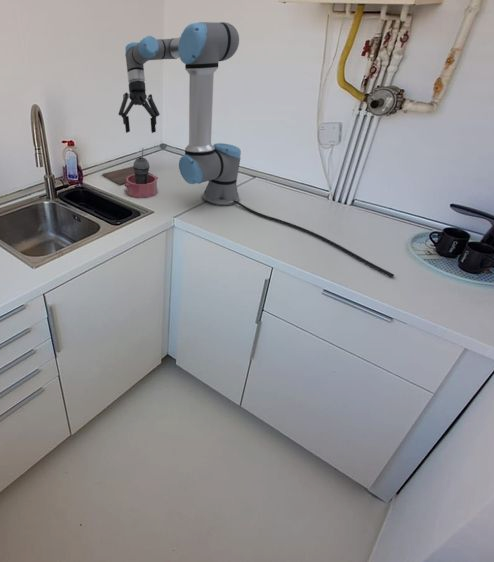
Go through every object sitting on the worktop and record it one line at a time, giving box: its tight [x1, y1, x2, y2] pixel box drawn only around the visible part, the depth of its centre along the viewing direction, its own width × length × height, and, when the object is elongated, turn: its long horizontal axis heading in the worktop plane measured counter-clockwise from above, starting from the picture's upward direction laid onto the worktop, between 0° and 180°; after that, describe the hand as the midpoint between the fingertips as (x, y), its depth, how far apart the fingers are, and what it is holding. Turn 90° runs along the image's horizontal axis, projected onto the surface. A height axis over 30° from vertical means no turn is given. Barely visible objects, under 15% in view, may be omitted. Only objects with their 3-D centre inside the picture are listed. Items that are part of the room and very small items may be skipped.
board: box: [102, 165, 153, 186], centre depth 187 cm, size 16×20×1 cm
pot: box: [124, 173, 159, 199], centre depth 170 cm, size 14×17×6 cm
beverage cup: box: [133, 147, 150, 184], centre depth 165 cm, size 7×7×20 cm
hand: (141, 132), depth 173 cm, fingers open, 13 cm apart
